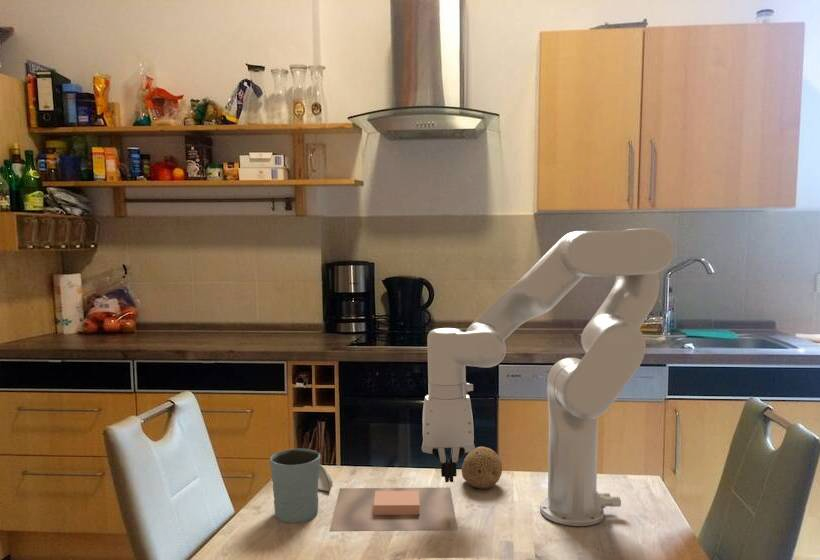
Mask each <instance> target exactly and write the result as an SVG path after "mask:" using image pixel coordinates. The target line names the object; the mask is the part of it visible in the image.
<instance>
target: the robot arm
mask: <svg viewBox="0 0 820 560" xmlns="http://www.w3.org/2000/svg"><path fill="white" fill-rule="evenodd" d="M674 253H675V250H674V244H673V242H672V239H671V238H670V236H668V235H667V234H666V233H665V232H663V231H662V230H660V229H656V228H653V227H652V228H651V227H649V228H647V227H646V228H641V227H639V228H636V227H635V228H627V229H622V230H574V231H570V232H568V233H566V234H565V235H563V236H562V237H561V238H560V239H558V240H557V242H555V244H554V245H552V247H551V248H549V250H547V252H546V253H545V254H543V256H541V258H540V259H539V260H538V261H537V262H536V263H535V264H534V265H533V266H532V267H531V268H530V269H529V270H528V271H526V273H525V274H524V275H522V277H520V279H519V280H518V281H516V282H515V283H514V284H512V286H510V287H509V288H508V289H507V290H506V291H505V292H504V293H503V294H501V295H500V296H499V297H498V298H496V299H495V300H494V301H493V302H492V303H491V304H490V305H489V306H488V307H486V308H485V310H484V311H483V312H482V313H481V314H479V315H478V317H477V318H476V319H475V320H473V321H472V323H471V324H470V325H469V326H468V327H467V329H466V330H465V331H462V330H461V329H459V328H454V327H442V328H441V327H439V328H434V329H432V330H430V331H429V332H428V334H427V339H426V340H427V344H426V345H427V346H426V347H427V379H428V380H427V381H428V382H427V385H428V388H427V389H428V394H426V395H425V396H424V399H423V406H422V407H423V408H422V430H421V431H422V445H421V451H422V453H427V454H430V455H431V454H432V455H434V457H436V458H437V459H438V460H439V461H440V470H441V471H440V472H441V473H440V474H441V475H440V476H441V477H442V478H444V480H445V481H444V482H445V483H449V482H450V483H454V477H457V476H458V475H457V462H458V461H459V459H460V458H461V457H462V456H463V455H464V454H468V453H469V452H471V451H474V450H475V448H476V446H475V443H474V441H475V436H474V431H475V430H474V419H473V418H474V417H473V411H472V403H471V398H470V395H469V394H468V393H469V392H473V391H474V384H473V383H470V382H467V379H466V378H467V377H466V376H467V374H466V373H467V371H466V366H467V367H475V368H476V367H477V368H493V367H495V366H497V365H500V363H501V362H503V360H504V358H505V356H506V353H507V345H506V341H505V340H506V339H507V338H508V337H510V335H512V333H514V331H516V330H517V329H518V328H519V327H520V326H521V325H523V324H524V323H526V322H527V321H531V320H532V319H534V318H537V317H539V316H543V315H544V314H547V313H548V312H550V311H551V310H553V309H554V307H556V305H558V303H559V302H560V301H561V300H562V299H563V298H564V297H566V295H567V294H568V293H569V292H570V291H571V290H572V289H573V288H574V287H575V286H576V285H578V283H579V282H581V280H582V279H583V278H584V277H598V278H599V277H615V280H614V284H613V286H612V288H611V290H610V292H609V293H608V295H607V296H606V298H605V300H604V301H603V302H602V303H601V305H600V307H599V308H598V309H597V310H596V312H595V313H594V315H593V316H592V318H591V319H590V320H589V322H588V323H587V324H586V326H585V327H584V329H583V331H582V333H581V338H580V341H581V342H580V343H581V346H582V349H583V350H584V352H585V354H584V356H583V357H582V358H581V359H580V358H577V357H565V358H563V359H560V360H558V361H557V362H556V363H554V364H553V365H552V367H551V368H550V370H549V372H548V376H547V381H546V394H547V405H548V453H547V454H548V461H547V463H548V465H547V467H548V469H547V472H548V473H547V497H546V498H545V499H543V500H542V501H541V502H540V505H539V510H540V513H541V515H542V516H543V517H544V518H546V519H547V520H550V521H551V522H554V523H556V524H560V525H564V526H570V527H587V526H594V525H597V524H598V523H600V522H602V521H603V520H604V517H605V511H604V510H605V508H606V507H611V508H614V507H616V508H619V507H621V506H622V501H621V497H620V496H611V493H609V492H602V493H599V492H598V490H597V484H598V482H597V479H598V474H597V473H598V439H599V437H598V435H599V434H598V433H599V432H598V431H599V429H598V428H599V427H598V426H599V425H598V418H599V417H600V416H603V414H605V413H606V412H607V411H608V410H609V409H610V408H611V406H613V403H614V402H616V400H617V399H618V397H619V396H620V395H621V393H622V392H623V390H624V389H625V387H626V386H627V384H629V382H630V380H632V378H633V376H634V375H635V374H636V372H637V371H638V369H639V368H640V366H641V364H642V363H643V360H644V357H645V354H646V345H647V344H646V340H645V337H644V334H643V332H642V331H641V329H640V328H642V326H643V325H644V323H645V322H646V319H647V318H648V316H649V315H650V313H651V312H652V310H653V309H654V307H655V304H656V303H657V300H658V297H659V291H660V275H659V272H661V271H663V270H665V269H666V268H668V266H669V264H670V263H671V262H672V260H673V256H674ZM445 449H451V451H450V455H449V458H448V456H447V455H446V450H445Z"/></svg>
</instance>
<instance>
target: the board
mask: <svg viewBox="0 0 820 560" xmlns="http://www.w3.org/2000/svg"><path fill="white" fill-rule="evenodd" d="M375 491H419V514H416V515H375V514H374V498H375ZM458 530H459V529H458V524H457V518H456V512H455V507H454V502H453V497H452V491H451V487H450V486H449V487H352V488H351V487H346V488H345V487H341V488H339V491H338V495H337V499H336V503H335V507H334V512H333V515H332V519H331V524H330V526H329V532H376V531H377V532H380V531H381V532H384V531H385V532H386V531H387V532H388V531H389V532H395V531H398V532H399V531H400V532H401V531H405V532H406V531H410V532H411V531H458Z"/></svg>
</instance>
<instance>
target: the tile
mask: <svg viewBox="0 0 820 560" xmlns="http://www.w3.org/2000/svg"><path fill="white" fill-rule="evenodd" d="M374 514H375V515H416V514H419V491H375V498H374Z"/></svg>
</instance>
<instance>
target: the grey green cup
mask: <svg viewBox="0 0 820 560" xmlns="http://www.w3.org/2000/svg"><path fill="white" fill-rule="evenodd" d="M269 461H270V462H269V463H270V471H271V481H272V483H273V484H272V491H273V498H274V499H273V506H274V507H273V508H274V516H276V517H275V518H276V519H277V520H278V521H279V520H280V521H279V522H282V523H285V522H286V524H300V523H305V522H308V521H311V520H312V519H314V518H316V517H317V515H318V512H319V511H318V510H319V495H318V493H319V491H318V489H319V488H318V480H319V472H320V464H321V453H320V452H318V451H317V450H313V449H309V448H292V449H291V448H290V449H284V450H280V451H278V452H276V453H275V452H274V454H272V455H271V456H270V458H269Z"/></svg>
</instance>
